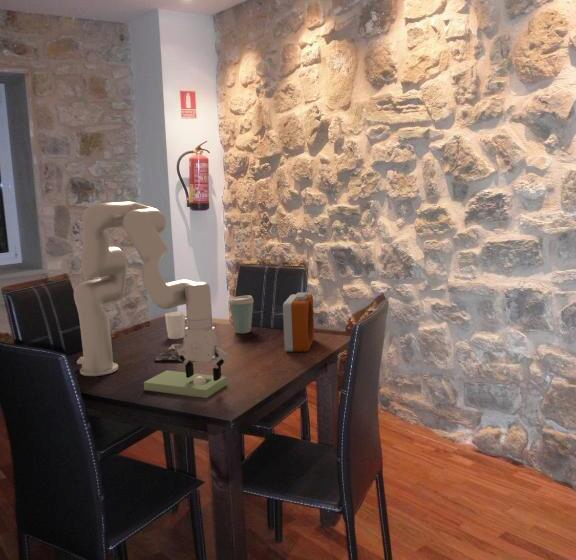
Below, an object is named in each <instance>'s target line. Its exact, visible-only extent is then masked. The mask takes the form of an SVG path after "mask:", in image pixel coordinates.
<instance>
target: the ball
mask: <svg viewBox="0 0 576 560" xmlns="http://www.w3.org/2000/svg"><path fill="white" fill-rule="evenodd" d="M193 384H200V385H204V384H206V380H205V378H204V377H202V376H198V377H196V378H195V379H194V381H193Z"/></svg>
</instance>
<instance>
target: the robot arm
mask: <svg viewBox="0 0 576 560" xmlns="http://www.w3.org/2000/svg"><path fill="white" fill-rule="evenodd" d="M81 225H82V235H83V236H82V244H81V245H82V246H81V248H82V249H81V261H80V269H81V272H82V275H84V276H85V277H86V278H90V280H86V281H83V282H80V283H78V285H76V287H75V289H74V290H73V300H74V303H75V306H76V309H77V313H78V314H77V315H78V319H79V328H80V336H81V347H82V355H83V356H79V358H78V359H77V361H76V364H77V365H81V368H80V369H79V374H80V375H82V376H84V377H98V376H105V375H109V374H112V373H114V372H116V371H118V369H119V365H118V363H116V362H114V357H113V347H112V345H113V344H112V336H111V325H110V319H109V316H108V314H107V313H106V311H105V310H104V308H103V307H104V306H105V307H106V306H108V305H111V304H115V303H118V302H120V301H121V300H122V298H123V297H124V295H125V290H126V289H125V288H126V281H127V270H128V260H127V256H126V253H125V252H124V251H123V250H122V249H121V248H120V247H117V246H110V244H111V238H110V234H109V232H108V230H113V229H114V230H116V229H117V230H118V229H124V231H125V233H126V235H127V236H128V239H129V240H130V241H131V244H132V245H133V247H134V248H135V250H136V252H137V253H138V255H139V256H140V259H141V260H142V267H141V277H142V284H143V286H144V287H143V288H144V289H145V290H146V292H147V294H148V295H149V298H150V299H151V301H153V303H154V304H155V305H156V307H158V308H159V309H163V310H169V309H172V308H175V307H178V306H183V305H185V313H186V318H184V323H185V324H186V326H187V327H185V330H184V337H183V345H184V346H183V347H182V348H180V349H178V350H177V353H178V355H179V356H180V359H181V360H182V361H183V363H182V364H183V366H184V367H185V372H186V377H187V378H189V377H191V376H193V375H194V373H195V372H194V362H191V361H196V362H197V363H198V362H199V363H211V365H212V366H213V368H212V375H213V379H214V381H217V380H219V379H220V378H221V376H222V366H223V364H224V363H226V360H227V357H228V352H226V351H225V350H223V349H222V348H220V347H219V341H218V337H217V332H216V329H215V326H214V325H213V324H214V323H213V311H212V310H213V309H212V295H211V294H212V293H211V286H210V283H208V282H205V281H193V280H189V279H179V280H178V279H177V280H173V281H170V282H165V280H164V279H163V277H162V275H161V273H160V270H159V261H160V260H161V259H163V258H164V256H166V254H167V252H168V246H167V243H165V241H164V239H163V238H162V236H161V235H160V234H161V233H163V232H164V230H165V229H166V225H167V222H166V218H165V215H164V214H163V213H162V212H161V211H160V210H159V209H157V208H154V207H152V206H148V205H144V204H142V203H138V202H134V201H116V202H114V201H113V202H101V203H95V204H92V205H89V206H88V207H87V208H85V210H84V211H83V214H82V217H81ZM196 362H195V363H196Z"/></svg>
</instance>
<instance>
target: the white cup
mask: <svg viewBox="0 0 576 560" xmlns="http://www.w3.org/2000/svg"><path fill="white" fill-rule="evenodd" d="M164 318H165V325H166V332H167V338H168V339H170V340H179V339H184V333H185V328H186V327H185V326H186V325H185V324H186V323H184V319H185V312H183V311H172V312H171V311H169V312H166V313H165V314H164Z"/></svg>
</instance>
